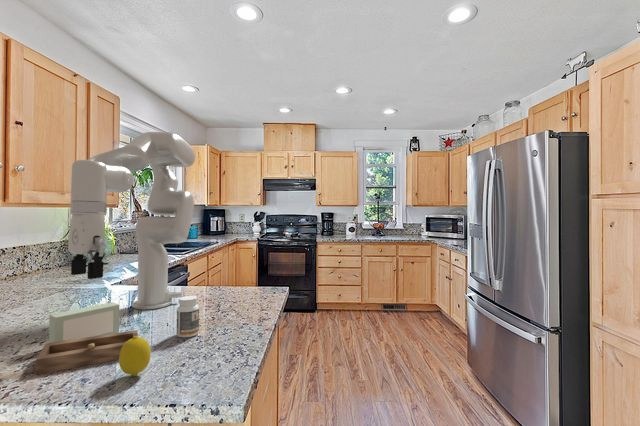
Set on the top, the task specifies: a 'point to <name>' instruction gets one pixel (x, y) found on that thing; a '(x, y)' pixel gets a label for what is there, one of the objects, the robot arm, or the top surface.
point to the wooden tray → (81, 351)
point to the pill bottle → (187, 317)
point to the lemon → (134, 356)
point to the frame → (84, 322)
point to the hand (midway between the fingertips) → (86, 276)
